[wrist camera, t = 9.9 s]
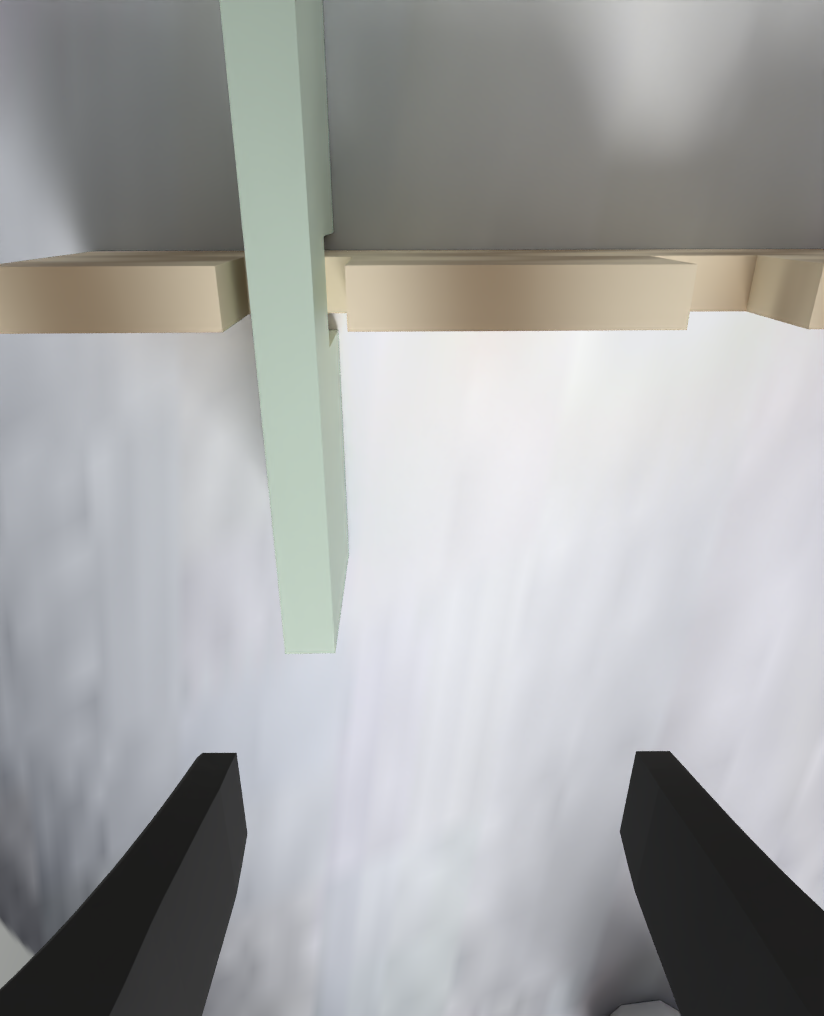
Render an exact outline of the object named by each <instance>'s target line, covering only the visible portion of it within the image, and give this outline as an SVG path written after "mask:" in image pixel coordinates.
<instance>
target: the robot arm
mask: <svg viewBox="0 0 824 1016" xmlns="http://www.w3.org/2000/svg"><path fill="white" fill-rule="evenodd" d="M620 834H621V838H622V842H623V846H624V850H625V855H626V859H627V863H628V867H629V871H630V874H631V878H632V882H633V886H634V889H635V893H636V896H637V898H638V901H639V904H640V907H641V909H642V912H643V915H644V918H645V920H646V923H647V926H648V928H649V931H650V934H651V937H652V939H653V942H654V945H655V947H656V950H657V953H658V955H659V958H660V961H661V963H662V966H663V969H664V971H665V974H666V977H667V979H668V982H669V985H670V987H671V990H672V993H673V995H674V998H675V1001H676V1003H677V1006H678V1008H679V1011H680V1014H681V1016H824V911H823V910H822V909H821V908H820V907H819V906H818V905H817V904H816V903H815V902H814V901H813V900H812V899H811V898H810V897H809V896H808V895H807V894H805V893H804V892H803V891H802V890H801V889H800V888H799V887H798V886H797V885H796V884H795V883H794V882H793V881H792V880H791V879H790V878H789V877H788V876H787V875H786V874H785V873H784V872H783V871H782V870H781V869H780V868H779V867H778V866H777V865H776V864H775V863H774V862H773V861H772V860H771V859H770V858H769V857H768V856H767V855H766V854H765V853H764V852H763V851H762V850H761V849H760V848H759V847H758V846H757V845H756V844H755V843H754V842H753V841H752V840H751V839H750V838H749V837H748V836H747V835H746V833H745V832H744V831H743V830H742V829H741V828H740V827H739V826H738V825H737V824H736V823H735V822H734V821H733V820H732V819H731V818H730V817H729V815H728V814H727V813H726V812H725V811H724V810H723V809H722V808H721V807H720V806H719V805H718V803H717V802H716V801H715V800H714V799H713V798H712V797H711V796H710V795H709V794H708V793H707V791H706V790H705V789H704V788H703V787H702V786H701V785H700V784H699V783H698V782H697V780H696V779H695V778H694V777H693V776H692V775H691V774H690V773H689V772H688V771H687V769H686V768H685V767H684V766H683V765H682V764H681V763H680V762H679V761H678V760H677V759H676V757H675V756H674V755H673V754H672V753H671V752H670V751H636V755H635V759H634V764H633V769H632V774H631V779H630V784H629V789H628V794H627V799H626V804H625V809H624V814H623V819H622V824H621V828H620ZM246 838H247V828H246V820H245V813H244V805H243V798H242V790H241V783H240V776H239V768H238V761H237V753H202V754H201V755H200V756H198V757H197V758H196V760H195V761H194V763H193V764H192V766H191V767H190V768H189V770H188V771H187V773H186V774H185V775H184V777H183V778H182V780H181V781H180V783H179V784H178V785H177V787H176V788H175V789H174V791H173V792H172V794H171V795H170V796H169V798H168V799H167V800H166V802H165V803H164V804H163V806H162V807H161V808H160V810H159V811H158V812H157V814H156V815H155V816H154V818H153V819H152V820H151V822H150V823H149V824H148V825H147V827H146V828H145V829H144V831H143V832H142V833H141V834H140V836H139V837H138V838H137V839H136V841H135V842H134V843H133V844H132V846H131V847H130V848H129V849H128V851H127V852H126V853H125V855H124V856H123V857H122V858H121V860H120V861H119V862H118V863H117V864H116V866H115V867H114V868H113V869H112V870H111V872H110V873H109V874H108V875H107V876H106V877H105V878H104V880H103V881H102V882H101V883H100V884H99V885H98V887H97V888H96V889H95V890H94V891H93V892H92V893H91V895H90V896H89V897H88V898H87V899H86V900H85V902H84V903H83V904H82V905H81V906H80V907H79V909H78V910H77V911H76V912H75V913H74V914H73V915H72V916H71V917H70V918H69V920H68V921H67V922H66V923H65V924H64V925H63V926H62V927H61V928H60V929H59V930H58V931H57V933H56V934H55V935H54V936H53V937H52V938H51V939H50V940H49V941H48V942H47V943H46V944H45V945H44V946H43V947H42V948H41V949H40V950H39V951H38V952H37V953H36V954H35V955H34V956H33V957H32V958H31V959H30V961H29V962H28V963H27V964H26V965H25V966H24V967H23V968H22V969H21V970H20V971H19V972H18V973H17V974H16V975H15V976H14V977H13V978H12V979H10V980H9V981H8V982H7V983H6V984H5V985H4V986H3V987H2V988H1V989H0V1016H202V1013H203V1010H204V1006H205V1003H206V999H207V996H208V993H209V989H210V986H211V982H212V979H213V975H214V972H215V968H216V965H217V961H218V958H219V954H220V951H221V948H222V944H223V941H224V937H225V934H226V930H227V926H228V923H229V919H230V916H231V912H232V909H233V905H234V902H235V898H236V894H237V889H238V884H239V878H240V873H241V868H242V862H243V856H244V850H245V844H246Z"/></svg>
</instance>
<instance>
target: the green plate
mask: <svg viewBox="0 0 824 1016" xmlns="http://www.w3.org/2000/svg"><path fill="white" fill-rule="evenodd" d="M219 3H220V13H221V22H222V32H223V42H224V52H225V62H226V72H227V82H228V92H229V102H230V112H231V122H232V131H233V141H234V151H235V161H236V171H237V181H238V191H239V201H240V211H241V221H242V231H243V240H244V250H245V260H246V270H247V280H248V290H249V300H250V310H251V320H252V330H253V340H254V349H255V359H256V369H257V379H258V389H259V399H260V409H261V419H262V429H263V439H264V449H265V458H266V468H267V478H268V488H269V498H270V508H271V518H272V528H273V538H274V548H275V558H276V567H277V577H278V587H279V597H280V607H281V617H282V627H283V637H284V647H285V654H312V653H335V651H336V644H337V636H338V629H339V622H340V615H341V607H342V600H343V593H344V586H345V578H346V571H347V564H348V557H349V546H348V525H347V504H346V483H345V462H344V441H343V420H342V399H341V378H340V357H339V336H338V330H329V329H328V310H327V292H326V273H325V255H324V236H325V235H328V234H331V233H334V231H333V210H332V189H331V168H330V147H329V126H328V105H327V84H326V63H325V42H324V21H323V0H219Z"/></svg>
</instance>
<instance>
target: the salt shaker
mask: <svg viewBox="0 0 824 1016" xmlns="http://www.w3.org/2000/svg"><path fill="white" fill-rule="evenodd" d="M610 1016H681V1014H680V1012H679V1011H678V1010H676V1009H674V1008H672V1007H671V1006H669V1005H667V1004H666V1003H664V1002H662V1001H660V1000H658V1001H650V1002H643V1003H635V1004H627V1005H621V1006H620V1007H619V1008H618V1009H616V1010H615V1011H614V1012H613V1013H612V1014H611V1015H610Z"/></svg>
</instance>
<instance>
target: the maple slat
mask: <svg viewBox="0 0 824 1016" xmlns="http://www.w3.org/2000/svg"><path fill="white" fill-rule="evenodd" d="M324 255H325V273H326V292H327V310H328V313H347V329H348V332H388V331H571V330H687V325H688V319H689V313H690V311H747V312H751V313H754V314H758V315H761V316H764V317H768V318H771V319H775V320H778V321H782V322H785V323H789V324H792V325H796V326H799V327H802V328H806V329H824V249H639V250H324ZM248 314H251V310H250V300H249V290H248V280H247V270H246V260H245V251H91V252H84V253H77V254H70V255H62V256H55V257H48V258H40V259H33V260H26V261H18V262H11V263H4V264H0V334H22V333H205V332H224V331H225V330H227V329H228V328H230V327H231V326H232V325H234V324H235V323H237V322H238V321H240V320H241V319H242V318H244V317H245V316H247V315H248Z"/></svg>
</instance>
